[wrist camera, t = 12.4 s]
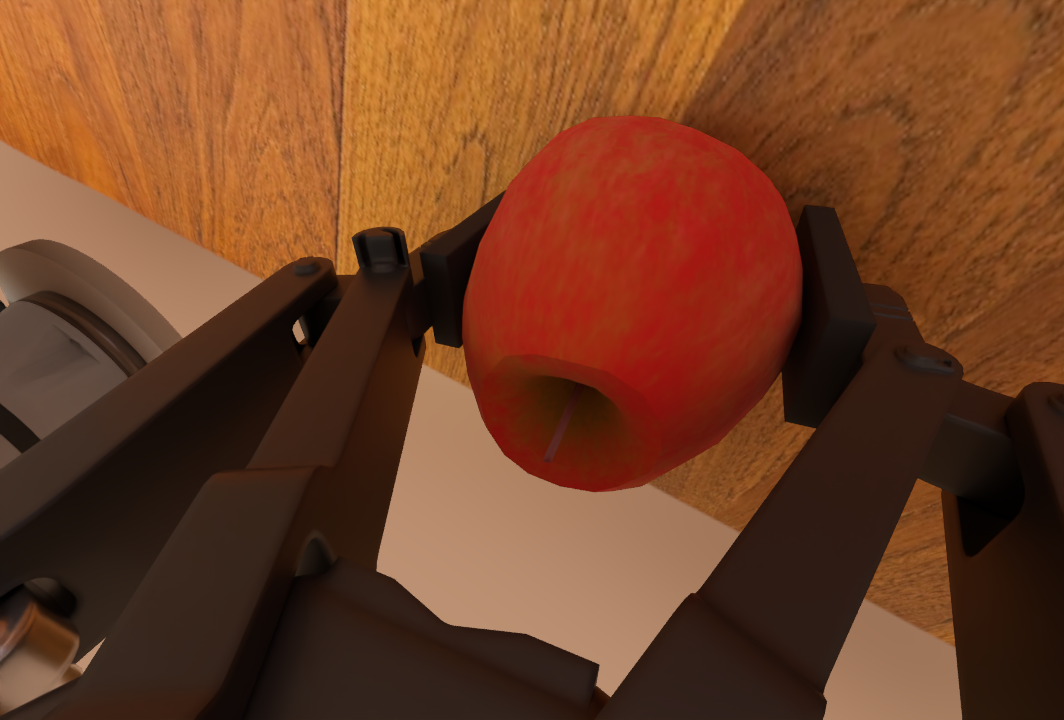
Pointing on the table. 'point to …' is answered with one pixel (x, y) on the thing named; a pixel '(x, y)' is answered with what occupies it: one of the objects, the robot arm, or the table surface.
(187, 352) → the robot arm
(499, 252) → the apple
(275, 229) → the table surface
